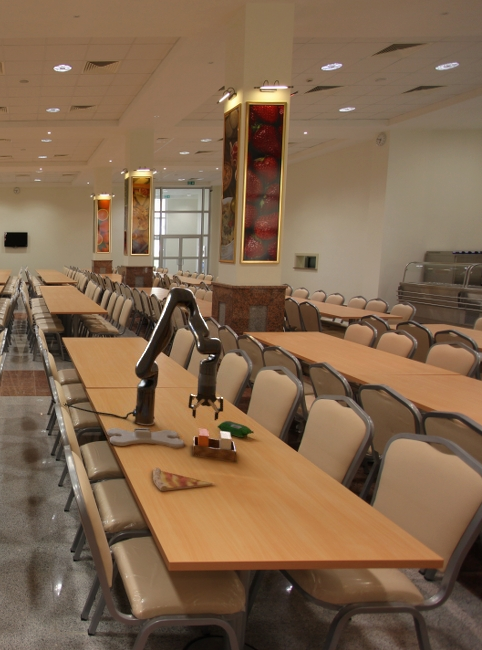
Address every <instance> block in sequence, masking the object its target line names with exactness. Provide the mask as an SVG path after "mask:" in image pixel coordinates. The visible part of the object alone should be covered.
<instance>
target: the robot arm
mask: <svg viewBox="0 0 482 650" xmlns="http://www.w3.org/2000/svg"><path fill="white" fill-rule="evenodd" d="M163 303H164V304H163V307H162V309H161V312H160V314H159V317H158V319H157V322H156V324H155V326H154V328H153V330H152V332H151V335H150V337H149V339H148V342H147V344H146V346H145V348H144V351H143V352H142V354H141V355H140V358H139V359H138V360H137V362H136V364H135V367H134V374H135V376H136V377H137V378H138V379H139V380H140V381H139V382H138V383H137V385H136V401H135V408H133V410H132V411H131V412H128V413H127V414H126V416H120V415H117V414H114V413H109V412H101V411H95V410H91V409H87V408H82V407H79V406H74V405H72V404H69V403H66V402H64V403H65V405H64V406H67V407H70V408H72V409H76V410H79V411H82V412H88V413H93V414H98V415H103V416H104V415H105V416H111V417H115V418H119V419H124V420H125V419H128V418H129V416H130V415H132V417H134V424H138V425H141V426H147V427H148V426H153V425H154V424H155V422H154V421H155V407H156V390H157V387H158V381H159V365H158V362H156V360H157V359H158V357H159V355H161V353H162V352H164V350H165V349H166V348H167V346H168V345H169V344H170V341H171V339H172V338H173V335H174V328H175V327H174V323H173V316H174V312H175V310H176V309H177V308H184V310H186V312H187V313H188V320H187V326H188V329H189V330H190V332H191V334H192V336H193V339H194V343H195V348H196V351H197V352H198V354H200V355H202V356H207V357H206V358H203V359H201V360H200V361H199V365H198V366H199V369H198V377H197V392H196V395H195V394H192V393H189V398H188V407H187V408H188V409H191V411H192V415H191V416H192V418H194V419H196V417H197V409H198V408H199V407H200V406H202V407H212V409H213V410H214V421H217V420H219V413H220V412H224V397H223V396H220V397H217V384H218V383H217V369H218V368H217V367H218V363H219V361H220V357H221V356H222V352H223V343H222V341H221V340H220V339H219V338H209V337H210V335H211V331H210V328H209V327H208V325H207V323H206V322H205V320H204V319H203V317H202V315H201V312H200V309H199V306H198V303H197V299H196V296H195V295H194V293H193V291H192V290H191V289H189V288H183V287H178V286H174V287H173V286H172V288H170V290H169V291H168V292H167V295H166V298H165V300H164V302H163ZM195 399H196V402H195V403H194V404H193V401H194V400H195ZM54 400H55V399H51V402H54ZM216 401H217V402H218V403H219V407H218V406H217V405H216V404H215V402H216Z"/></svg>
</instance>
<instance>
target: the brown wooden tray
mask: <svg viewBox="0 0 482 650" xmlns="http://www.w3.org/2000/svg"><path fill="white" fill-rule="evenodd" d="M192 438H193V439H192V456H194V457H202V458H208V459H215V460H221V461H222V460H223V461H230V462H236V459H237V458H236V457H237V449H236V444H235V441H233V440H231V450H226V449H219V441H220V438H219V439H218V438H212V437H209V442H208V447H204V446H198V435H193V437H192Z"/></svg>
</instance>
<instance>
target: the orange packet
mask: <svg viewBox="0 0 482 650" xmlns="http://www.w3.org/2000/svg"><path fill="white" fill-rule="evenodd" d="M197 432H198V433H197V434H198V435H197V437H198V446H204V447H208V442H209V438H210V435H209V429H208V428H201V427H200V428H198V431H197Z"/></svg>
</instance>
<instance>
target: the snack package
mask: <svg viewBox="0 0 482 650" xmlns="http://www.w3.org/2000/svg"><path fill="white" fill-rule="evenodd" d="M216 427H217V429H219V430H220V431H224V432H230V435H231V436H234V437H237V438H244V437H247V436H248V435H251V434H254V433H255V432H254V430H252V429H251V428H250V427H248V426H247V425H244V424H241V423H238V422H235V421H231V420H225V421H223V422H221V423H219V424H218V425H217V426H216Z"/></svg>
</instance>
